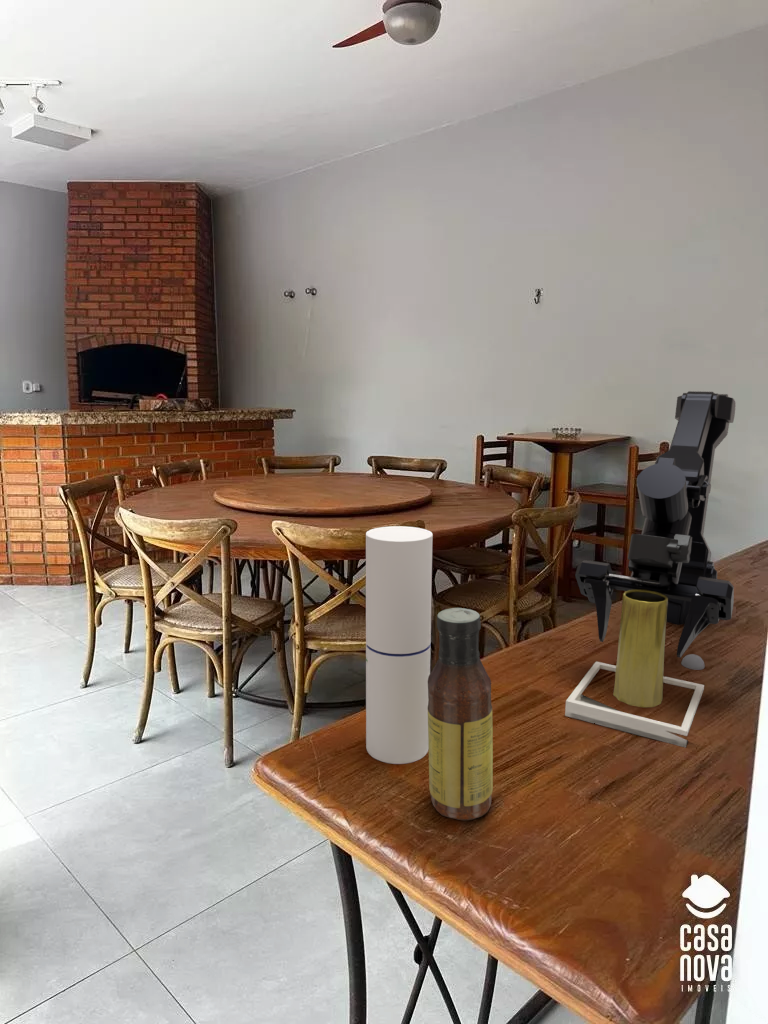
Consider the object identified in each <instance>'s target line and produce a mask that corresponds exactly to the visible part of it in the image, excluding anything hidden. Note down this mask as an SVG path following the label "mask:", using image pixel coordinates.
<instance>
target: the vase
mask: <svg viewBox="0 0 768 1024" xmlns="http://www.w3.org/2000/svg"><path fill="white" fill-rule="evenodd" d="M621 599H622V601H621V602H622V603H621V615H620V624H619V633H618V644H617V657H616V665H615V666H616V672H614V673H615V674H614V675H615V676H614V687H613V694H612V695H613V696H614V697H615V699H617V701H619V702H622V703H624V704H627V705H628V706H634V707H638V708H655V707H657V706H658V705H661V704H662V701H663V699H664V697H663V694H664V693H663V692H664V691H663V689H664V683H663V676H664V672H665V671H664V667H665V663H664V662H665V648H666V646H665V642H666V631H667V630H666V627H667V622H666V619H667V607H668V598H667V597H666V596H665V595H663V594H661V593H658V592H655V591H649V590H629V591H624V592H623V593H622V598H621Z"/></svg>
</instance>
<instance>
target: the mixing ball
mask: <svg viewBox="0 0 768 1024" xmlns="http://www.w3.org/2000/svg"><path fill="white" fill-rule="evenodd" d="M680 664H681V666H682V667H684V668H686V669H689V670H695V671H696V670H697V671H702V670H704V669H705V662H704V659H703V658H702V657H701V656H700V655H697V654H694V653H691V654H690V653H689V654H687V655H684V657H683V658H682V660H681V663H680Z"/></svg>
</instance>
